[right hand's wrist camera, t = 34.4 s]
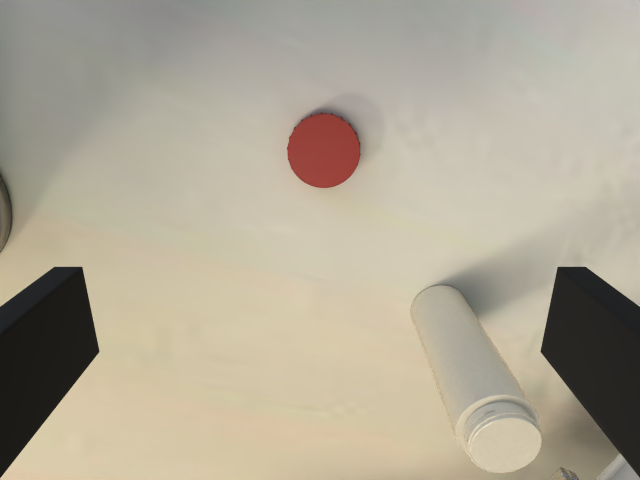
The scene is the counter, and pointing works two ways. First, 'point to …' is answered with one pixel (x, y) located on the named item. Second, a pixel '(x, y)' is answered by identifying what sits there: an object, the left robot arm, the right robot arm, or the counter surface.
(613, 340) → the right robot arm
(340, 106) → the counter surface
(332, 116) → the lid
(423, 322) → the jar
